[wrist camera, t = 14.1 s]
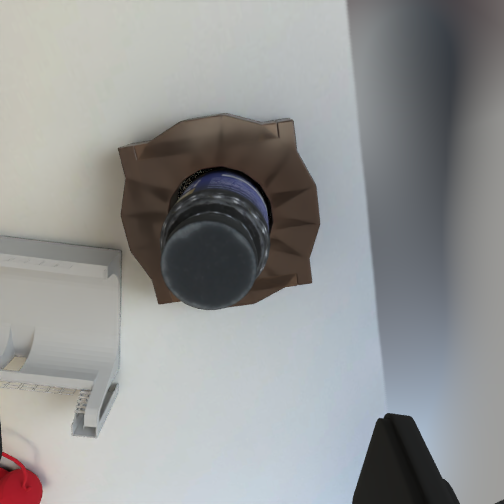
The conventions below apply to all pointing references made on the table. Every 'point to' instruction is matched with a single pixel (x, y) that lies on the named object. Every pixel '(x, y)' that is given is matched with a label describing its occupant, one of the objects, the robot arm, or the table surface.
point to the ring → (234, 157)
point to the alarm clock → (19, 485)
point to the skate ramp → (62, 322)
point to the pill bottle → (215, 240)
